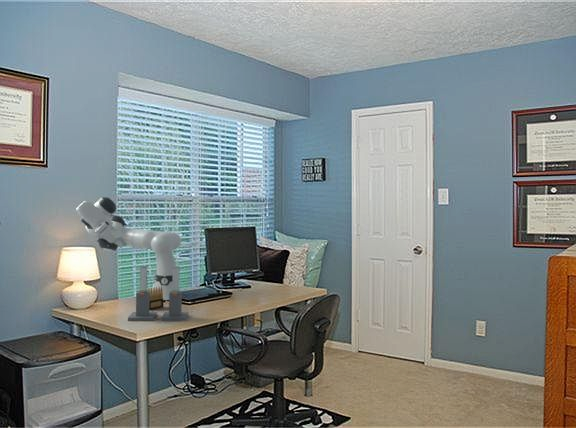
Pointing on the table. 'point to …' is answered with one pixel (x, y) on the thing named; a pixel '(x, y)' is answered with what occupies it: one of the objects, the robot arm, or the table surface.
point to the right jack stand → (175, 300)
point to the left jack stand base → (142, 308)
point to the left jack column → (143, 279)
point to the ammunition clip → (156, 298)
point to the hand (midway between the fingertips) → (124, 246)
